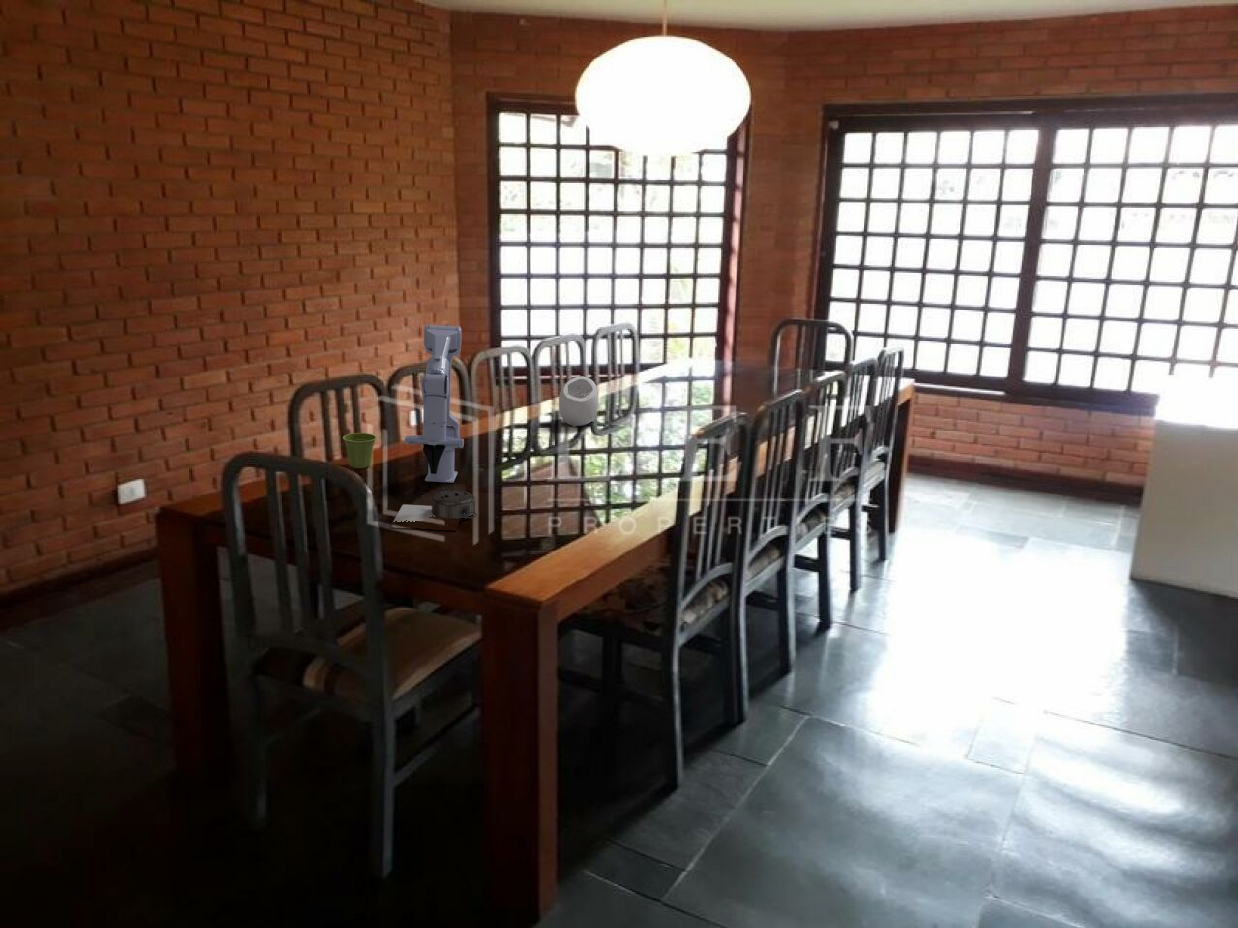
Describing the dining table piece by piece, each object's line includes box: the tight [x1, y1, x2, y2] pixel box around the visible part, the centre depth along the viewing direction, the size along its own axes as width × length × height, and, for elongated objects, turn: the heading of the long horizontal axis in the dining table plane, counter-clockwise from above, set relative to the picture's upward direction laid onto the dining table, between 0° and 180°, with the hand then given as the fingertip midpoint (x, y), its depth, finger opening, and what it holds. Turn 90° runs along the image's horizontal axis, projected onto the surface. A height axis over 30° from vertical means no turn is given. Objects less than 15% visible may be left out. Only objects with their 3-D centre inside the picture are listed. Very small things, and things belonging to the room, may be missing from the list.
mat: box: [392, 503, 436, 523], centre depth 239 cm, size 16×16×1 cm
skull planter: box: [558, 375, 600, 428], centre depth 341 cm, size 14×20×19 cm
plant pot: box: [342, 432, 377, 469], centre depth 275 cm, size 9×9×9 cm
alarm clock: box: [425, 486, 478, 519], centre depth 241 cm, size 11×5×16 cm
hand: (434, 472), depth 243 cm, fingers closed
